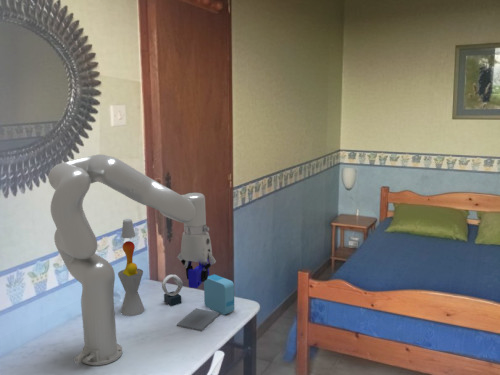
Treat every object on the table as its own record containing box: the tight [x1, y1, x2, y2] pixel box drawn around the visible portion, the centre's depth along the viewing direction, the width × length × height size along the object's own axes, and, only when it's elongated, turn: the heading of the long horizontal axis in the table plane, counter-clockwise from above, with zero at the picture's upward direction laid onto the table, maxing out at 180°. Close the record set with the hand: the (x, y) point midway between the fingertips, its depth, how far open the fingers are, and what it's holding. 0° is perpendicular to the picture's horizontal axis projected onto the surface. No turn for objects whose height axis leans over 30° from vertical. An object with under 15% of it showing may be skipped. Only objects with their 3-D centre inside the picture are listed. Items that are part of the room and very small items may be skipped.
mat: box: [175, 307, 221, 332], centre depth 179 cm, size 14×10×1 cm
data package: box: [203, 273, 235, 316], centre depth 187 cm, size 12×4×12 cm, turn 45°
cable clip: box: [187, 259, 210, 289], centre depth 175 cm, size 12×4×6 cm, turn 165°
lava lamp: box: [117, 218, 145, 317], centre depth 184 cm, size 9×9×35 cm
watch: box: [161, 274, 184, 307], centre depth 193 cm, size 6×8×11 cm
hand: (197, 278), depth 176 cm, fingers closed on cable clip, 5 cm apart
